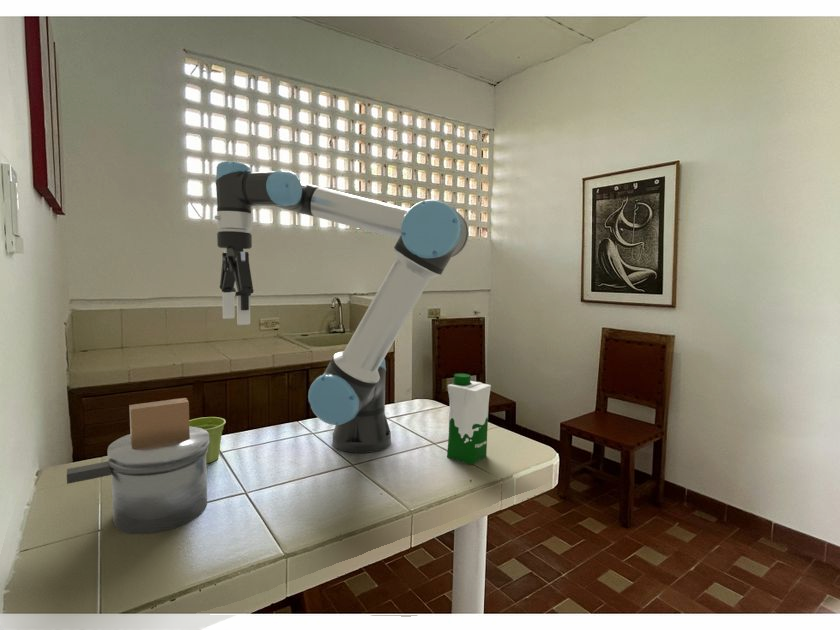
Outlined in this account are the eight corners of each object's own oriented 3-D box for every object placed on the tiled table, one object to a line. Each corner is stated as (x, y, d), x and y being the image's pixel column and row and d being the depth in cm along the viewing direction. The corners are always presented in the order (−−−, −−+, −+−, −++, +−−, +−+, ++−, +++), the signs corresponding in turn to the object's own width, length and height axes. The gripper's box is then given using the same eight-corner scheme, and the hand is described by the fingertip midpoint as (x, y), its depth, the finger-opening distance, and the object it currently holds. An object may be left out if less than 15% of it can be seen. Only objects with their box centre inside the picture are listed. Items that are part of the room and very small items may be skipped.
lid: (199, 426, 95) (198, 387, 94) (218, 452, 82) (217, 407, 81) (105, 442, 85) (103, 399, 84) (110, 474, 72) (108, 424, 71)
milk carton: (460, 446, 119) (463, 370, 117) (492, 456, 113) (495, 376, 111) (441, 457, 112) (444, 376, 110) (473, 467, 106) (477, 383, 104)
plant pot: (172, 462, 105) (171, 425, 104) (208, 448, 113) (207, 414, 113) (199, 471, 101) (198, 433, 100) (235, 456, 109) (234, 421, 108)
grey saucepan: (200, 483, 95) (198, 427, 94) (217, 517, 83) (216, 452, 82) (71, 513, 83) (67, 448, 82) (69, 558, 70) (64, 483, 69)
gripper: (206, 232, 116) (207, 316, 118) (231, 227, 96) (233, 328, 98) (237, 234, 120) (238, 315, 122) (267, 229, 100) (268, 326, 102)
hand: (235, 321), depth 110 cm, fingers open, 13 cm apart
